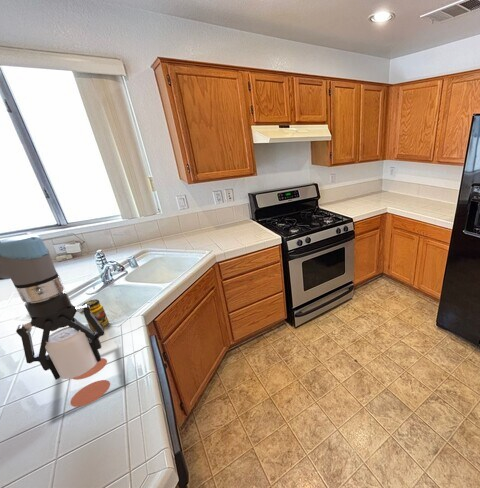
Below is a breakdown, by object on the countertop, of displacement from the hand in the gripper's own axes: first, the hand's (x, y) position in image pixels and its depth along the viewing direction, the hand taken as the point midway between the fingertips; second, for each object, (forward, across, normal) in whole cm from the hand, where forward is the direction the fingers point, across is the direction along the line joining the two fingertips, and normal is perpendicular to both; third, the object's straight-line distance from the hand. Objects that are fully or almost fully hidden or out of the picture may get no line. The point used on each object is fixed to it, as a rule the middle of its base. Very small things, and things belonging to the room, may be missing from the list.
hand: (79, 367), depth 73 cm
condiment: (+10, +3, +42) cm, 43 cm away
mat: (+10, 0, +7) cm, 12 cm away
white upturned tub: (+1, 0, 0) cm, 1 cm away
